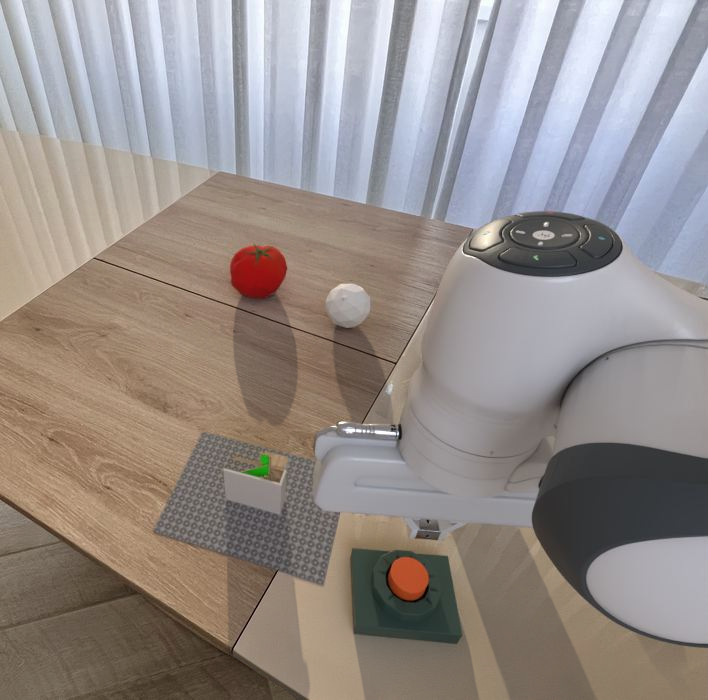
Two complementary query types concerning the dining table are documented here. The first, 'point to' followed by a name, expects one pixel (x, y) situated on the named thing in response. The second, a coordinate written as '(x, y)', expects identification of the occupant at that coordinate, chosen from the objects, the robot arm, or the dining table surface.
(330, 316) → the ornament
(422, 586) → the button
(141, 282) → the dining table surface
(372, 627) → the dimmer block
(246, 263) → the tomato
